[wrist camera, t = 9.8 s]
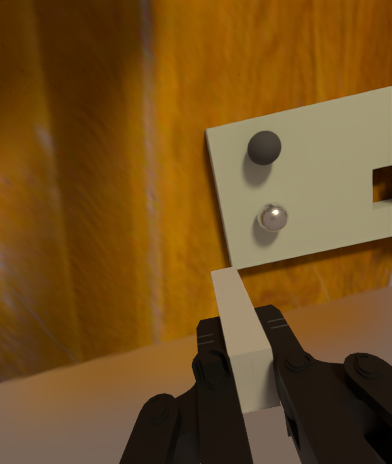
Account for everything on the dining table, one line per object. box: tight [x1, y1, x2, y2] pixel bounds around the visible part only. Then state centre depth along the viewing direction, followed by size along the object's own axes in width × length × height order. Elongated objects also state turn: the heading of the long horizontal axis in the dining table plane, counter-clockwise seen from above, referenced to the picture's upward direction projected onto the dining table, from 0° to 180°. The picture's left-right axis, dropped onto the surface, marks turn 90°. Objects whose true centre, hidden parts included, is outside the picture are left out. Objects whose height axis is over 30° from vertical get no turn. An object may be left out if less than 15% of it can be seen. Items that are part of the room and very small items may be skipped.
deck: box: [205, 86, 392, 269], centre depth 28 cm, size 28×16×2 cm, turn 102°
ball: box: [257, 202, 289, 232], centre depth 26 cm, size 3×3×3 cm
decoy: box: [247, 131, 282, 165], centre depth 24 cm, size 3×3×3 cm
